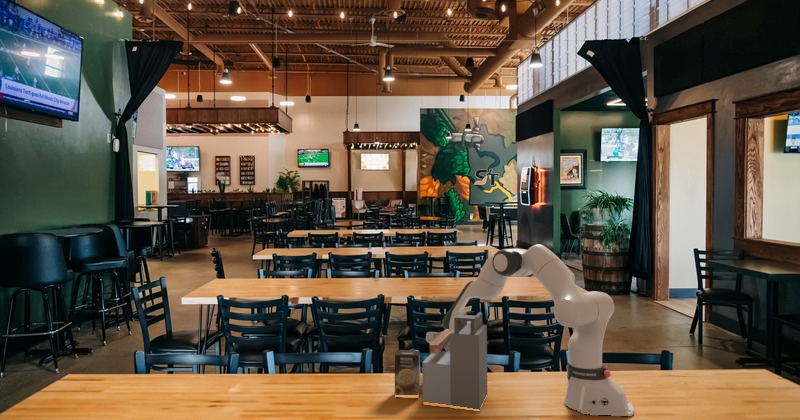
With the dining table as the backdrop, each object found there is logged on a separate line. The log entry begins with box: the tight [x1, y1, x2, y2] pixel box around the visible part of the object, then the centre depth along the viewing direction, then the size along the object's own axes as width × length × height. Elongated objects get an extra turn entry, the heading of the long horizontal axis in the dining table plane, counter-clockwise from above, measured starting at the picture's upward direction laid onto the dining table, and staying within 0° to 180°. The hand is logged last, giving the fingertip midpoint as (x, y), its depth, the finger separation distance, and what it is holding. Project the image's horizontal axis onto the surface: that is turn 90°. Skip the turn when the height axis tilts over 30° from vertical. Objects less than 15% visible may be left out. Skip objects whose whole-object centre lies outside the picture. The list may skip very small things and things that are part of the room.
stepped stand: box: [421, 310, 488, 411], centre depth 186 cm, size 20×16×32 cm
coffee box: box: [394, 349, 421, 396], centre depth 191 cm, size 9×6×16 cm
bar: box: [429, 329, 453, 354], centre depth 192 cm, size 3×24×3 cm, turn 161°
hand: (447, 334), depth 200 cm, fingers closed on bar, 3 cm apart
